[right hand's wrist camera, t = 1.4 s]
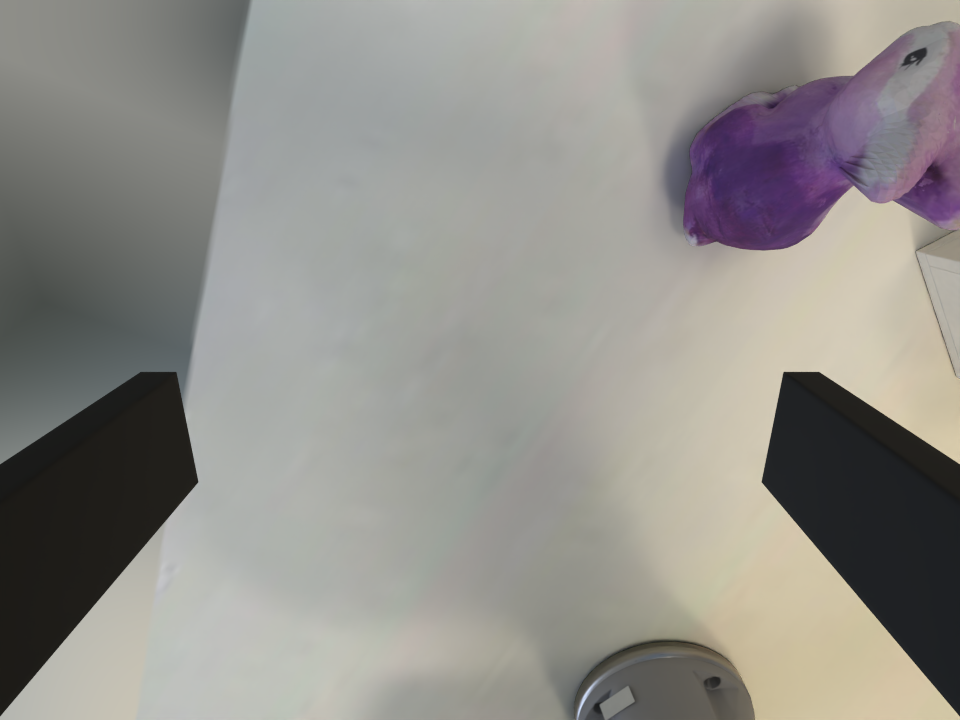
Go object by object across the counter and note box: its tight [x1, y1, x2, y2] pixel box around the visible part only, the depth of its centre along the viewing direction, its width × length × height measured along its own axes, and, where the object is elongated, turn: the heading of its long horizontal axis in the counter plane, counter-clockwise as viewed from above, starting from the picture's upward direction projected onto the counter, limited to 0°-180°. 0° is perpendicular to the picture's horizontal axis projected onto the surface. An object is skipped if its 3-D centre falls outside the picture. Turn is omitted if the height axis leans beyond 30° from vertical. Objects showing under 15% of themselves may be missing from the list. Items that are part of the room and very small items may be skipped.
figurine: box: [683, 21, 960, 250], centre depth 28 cm, size 9×10×15 cm
